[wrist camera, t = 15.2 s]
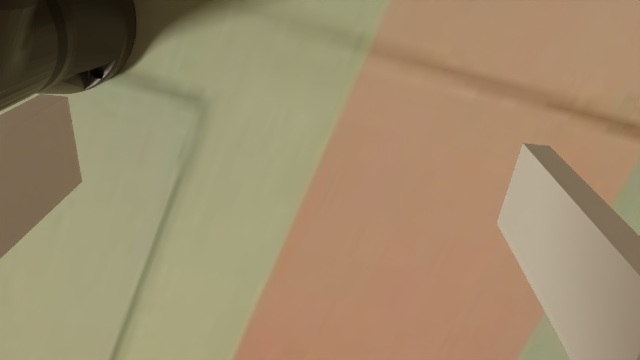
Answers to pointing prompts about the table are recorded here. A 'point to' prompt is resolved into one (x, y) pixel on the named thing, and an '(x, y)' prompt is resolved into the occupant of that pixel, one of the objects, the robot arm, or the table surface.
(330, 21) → the table surface
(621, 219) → the robot arm
